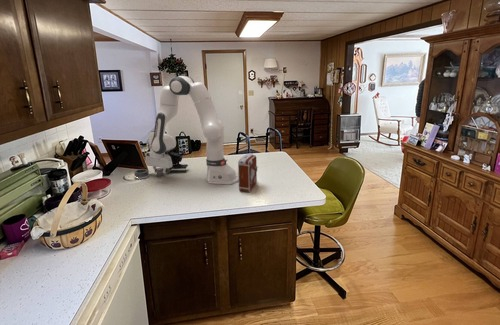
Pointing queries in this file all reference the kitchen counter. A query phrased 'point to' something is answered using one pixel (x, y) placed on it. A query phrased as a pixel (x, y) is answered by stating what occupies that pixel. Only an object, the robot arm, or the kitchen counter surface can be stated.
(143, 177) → the lens barrel
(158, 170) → the lens cap
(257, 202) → the kitchen counter surface
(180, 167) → the vintage camera
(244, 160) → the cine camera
